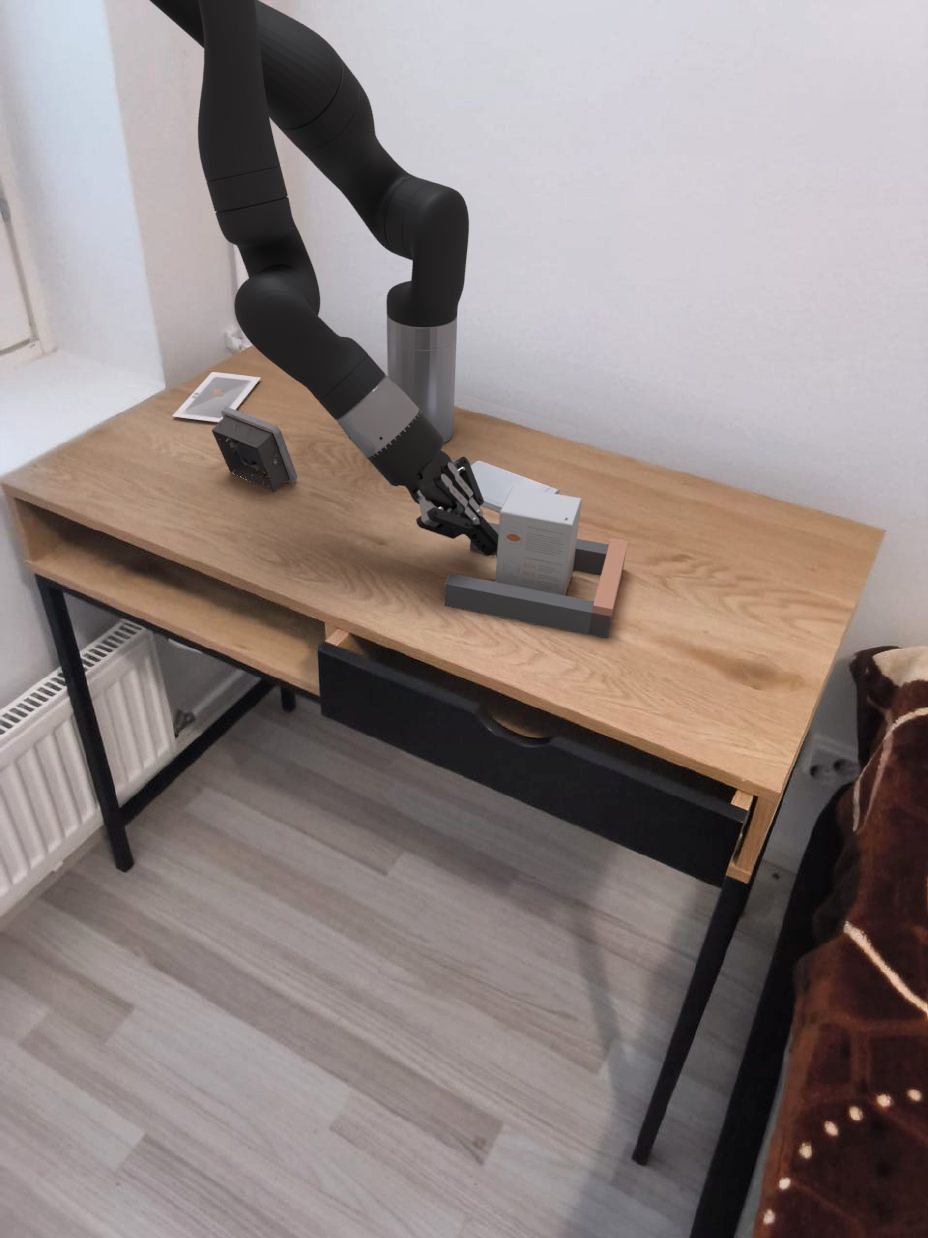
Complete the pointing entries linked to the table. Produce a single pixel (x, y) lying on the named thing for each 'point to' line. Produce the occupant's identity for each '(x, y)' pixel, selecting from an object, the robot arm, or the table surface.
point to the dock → (544, 604)
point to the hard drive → (502, 484)
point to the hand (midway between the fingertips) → (495, 548)
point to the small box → (537, 540)
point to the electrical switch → (254, 449)
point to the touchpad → (216, 396)
